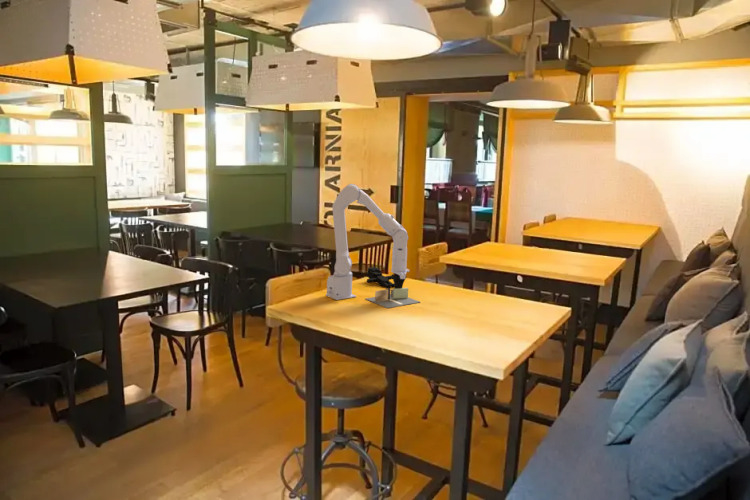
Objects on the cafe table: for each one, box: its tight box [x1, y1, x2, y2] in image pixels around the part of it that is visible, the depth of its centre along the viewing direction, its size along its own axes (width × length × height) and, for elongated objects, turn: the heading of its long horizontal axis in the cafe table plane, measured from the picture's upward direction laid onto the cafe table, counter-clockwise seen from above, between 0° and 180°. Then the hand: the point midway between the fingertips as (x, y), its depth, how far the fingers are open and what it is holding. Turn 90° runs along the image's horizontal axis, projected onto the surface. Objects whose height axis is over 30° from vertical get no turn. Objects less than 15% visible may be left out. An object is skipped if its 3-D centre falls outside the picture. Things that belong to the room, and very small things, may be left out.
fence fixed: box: [374, 288, 392, 301], centre depth 210 cm, size 7×1×5 cm, turn 126°
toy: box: [366, 266, 395, 289], centre depth 235 cm, size 14×6×15 cm
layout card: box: [365, 294, 421, 309], centre depth 211 cm, size 16×14×1 cm
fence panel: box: [390, 287, 409, 299], centre depth 213 cm, size 7×1×4 cm, turn 110°
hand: (398, 292), depth 214 cm, fingers closed, pressing on fence panel
